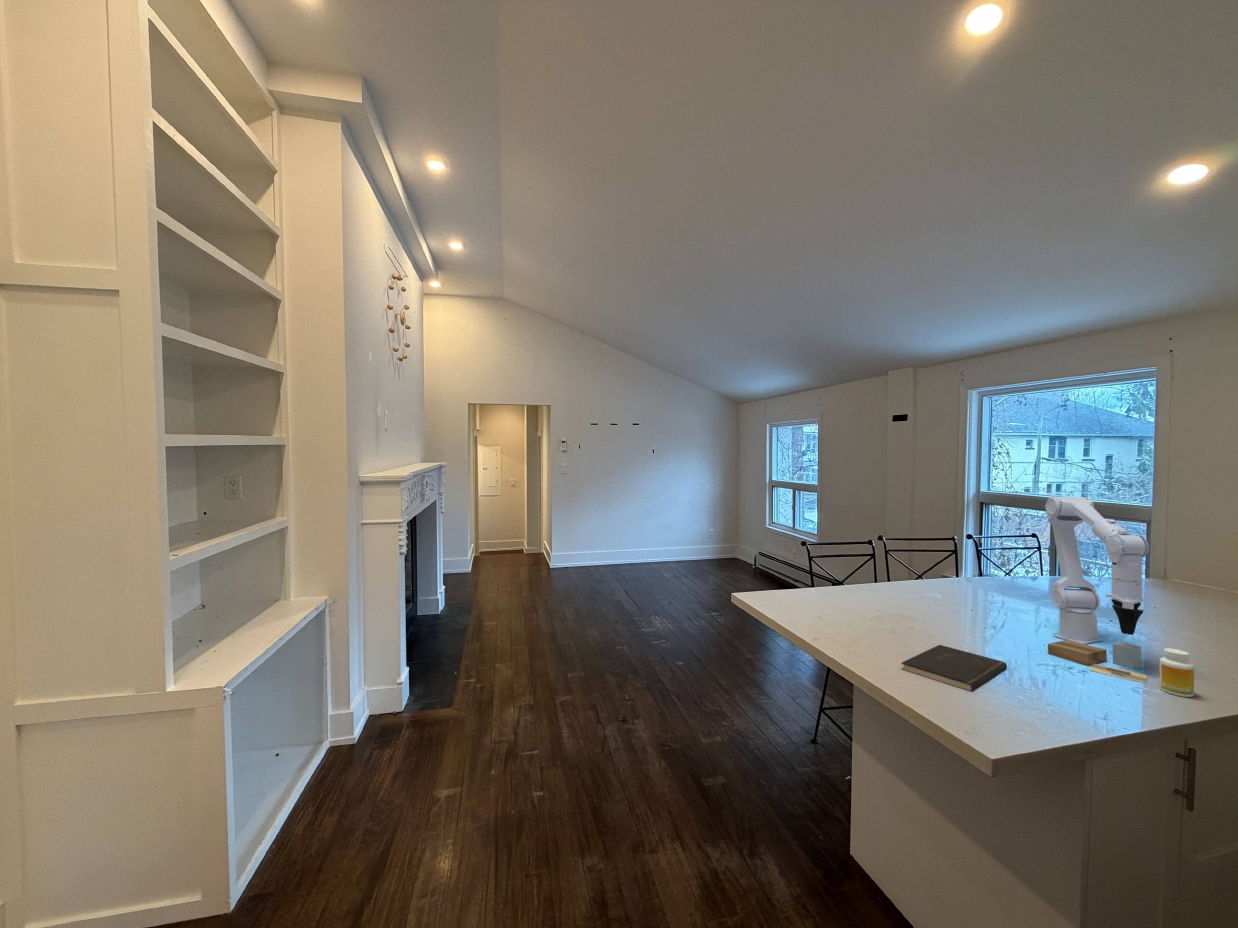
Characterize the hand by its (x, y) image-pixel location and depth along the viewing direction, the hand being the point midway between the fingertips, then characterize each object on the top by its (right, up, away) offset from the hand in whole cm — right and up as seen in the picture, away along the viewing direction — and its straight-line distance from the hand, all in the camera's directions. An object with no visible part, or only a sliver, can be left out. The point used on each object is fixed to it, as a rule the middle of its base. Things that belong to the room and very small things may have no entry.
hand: (1126, 630), depth 132 cm
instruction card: (-8, -9, -5) cm, 13 cm away
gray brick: (0, -10, 0) cm, 10 cm away
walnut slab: (-9, -9, +5) cm, 14 cm away
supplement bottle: (-5, -10, -16) cm, 19 cm away
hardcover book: (-48, -10, -3) cm, 49 cm away
